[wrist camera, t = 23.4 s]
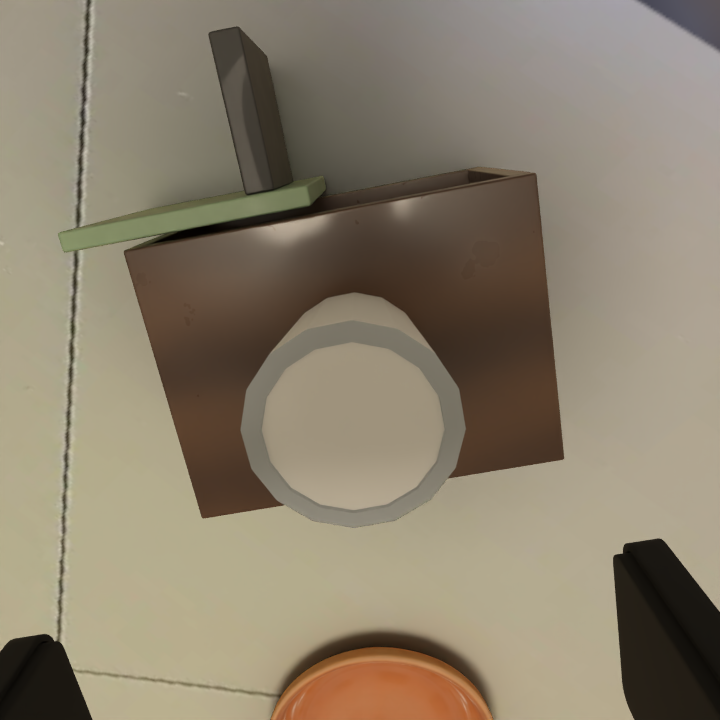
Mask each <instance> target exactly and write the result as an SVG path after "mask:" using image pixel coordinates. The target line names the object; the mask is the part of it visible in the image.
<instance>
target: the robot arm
mask: <svg viewBox="0 0 720 720" xmlns="http://www.w3.org/2000/svg"><path fill="white" fill-rule="evenodd" d="M613 567H614V580H615V593H616V606H617V619H618V632H619V645H620V658H621V671H622V683H623V690H624V694H625V698H626V701H627V704H628V707H629V709H630V711H631V713H632V716H633V718H634V720H720V612H719V610H718V609H717V608H716V607H715V605H714V604H713V603H712V602H711V600H710V599H709V598H708V596H707V595H706V594H705V593H704V591H703V590H702V589H701V588H700V586H699V585H698V584H697V582H696V581H695V580H694V579H693V577H692V576H691V575H690V573H689V572H688V571H687V570H686V568H685V567H684V566H683V565H682V563H681V562H680V561H679V559H678V558H677V557H676V556H675V554H674V553H673V552H672V550H671V549H670V548H669V547H668V545H667V544H666V543H665V542H664V541H663V540H662V539H652V540H646V541H640V542H633V543H627V544H625V545H624V547H623V554H617V555H614V558H613ZM0 720H92V717H91V715H90V712H89V710H88V707H87V705H86V702H85V700H84V697H83V695H82V692H81V690H80V687H79V685H78V682H77V680H76V677H75V675H74V672H73V669H72V667H71V664H70V662H69V659H68V657H67V654H66V652H65V649H64V647H63V645H62V644H61V643H60V642H57V641H55V642H54V640H53V638H52V637H51V636H49V635H47V634H42V635H35V636H29V637H22V638H16V639H13V640H10V641H9V642H8V643H7V644H6V645H5V646H4V648H3V649H2V650H1V652H0Z"/></svg>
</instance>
